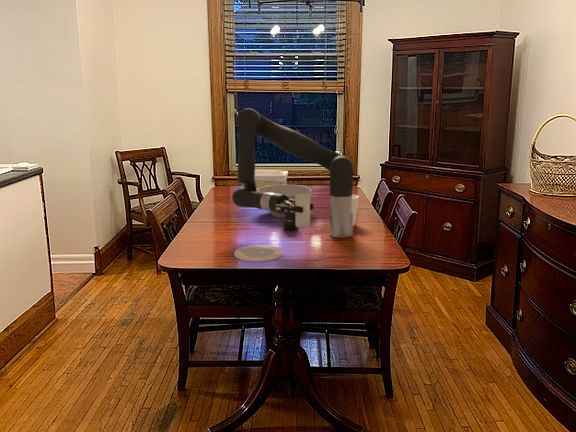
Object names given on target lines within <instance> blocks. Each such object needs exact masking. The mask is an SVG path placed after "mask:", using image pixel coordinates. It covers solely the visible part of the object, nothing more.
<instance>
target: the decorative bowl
mask: <svg viewBox="0 0 576 432" xmlns="http://www.w3.org/2000/svg"><path fill="white" fill-rule="evenodd" d="M257 191H261V192H268V193H278V194H284V195H286V196H287V197H288V199H293V200H295V194H298V193H308V194H310V197H311V195H312V192H313V189H312V188H311V187H308V186H306V185H299V184H287V185H270V186H264V187H260V188H258V189H257ZM268 212H269V213H271V216H273V217H277V218H283V213H282V214H281V213H275V212H270V211H268Z"/></svg>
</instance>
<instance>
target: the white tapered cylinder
mask: <svg viewBox="0 0 576 432" xmlns="http://www.w3.org/2000/svg"><path fill="white" fill-rule="evenodd" d="M310 203H311V196H310V194H308V193H298V194H295V206H300V207H303V213H298V212H295V222H296V227H298V228H309V227H311V210H310Z"/></svg>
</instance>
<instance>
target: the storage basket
mask: <svg viewBox="0 0 576 432" xmlns="http://www.w3.org/2000/svg"><path fill="white" fill-rule="evenodd" d="M288 173H289V171H288V170H279V169H277V170H275V169H270V170H269V169H255V175H254V180H255V184H256V189H258V188H260V187H264V186H270V185H288V184H287V182H288V181H287V180H288V179H287V178H288V175H289V174H288ZM242 189H244V185H243V184H242Z"/></svg>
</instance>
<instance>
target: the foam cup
mask: <svg viewBox="0 0 576 432" xmlns="http://www.w3.org/2000/svg"><path fill="white" fill-rule="evenodd" d="M359 203H360V196H359V195H356V194H353V193H352V214H353V227H354V226H355V225H356V220H357V213H358V206H359Z"/></svg>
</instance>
